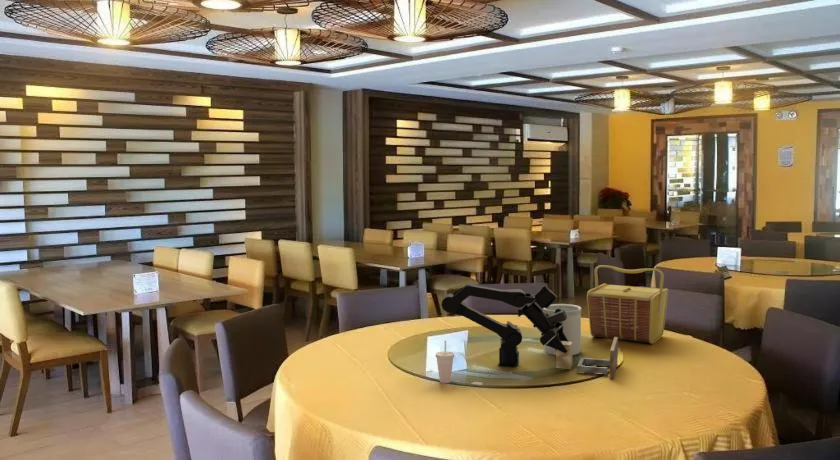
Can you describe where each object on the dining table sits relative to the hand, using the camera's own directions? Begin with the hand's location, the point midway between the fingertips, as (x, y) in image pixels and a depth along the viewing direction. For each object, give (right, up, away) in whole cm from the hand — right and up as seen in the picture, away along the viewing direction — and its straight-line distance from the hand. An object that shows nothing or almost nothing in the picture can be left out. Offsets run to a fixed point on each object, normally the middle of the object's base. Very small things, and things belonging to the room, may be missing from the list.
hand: (568, 349), depth 258 cm
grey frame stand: (+9, -7, -3) cm, 12 cm away
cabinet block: (-1, -7, +1) cm, 7 cm away
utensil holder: (+2, -5, +23) cm, 24 cm away
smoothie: (-45, -9, -14) cm, 48 cm away
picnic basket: (+34, -3, +45) cm, 56 cm away
